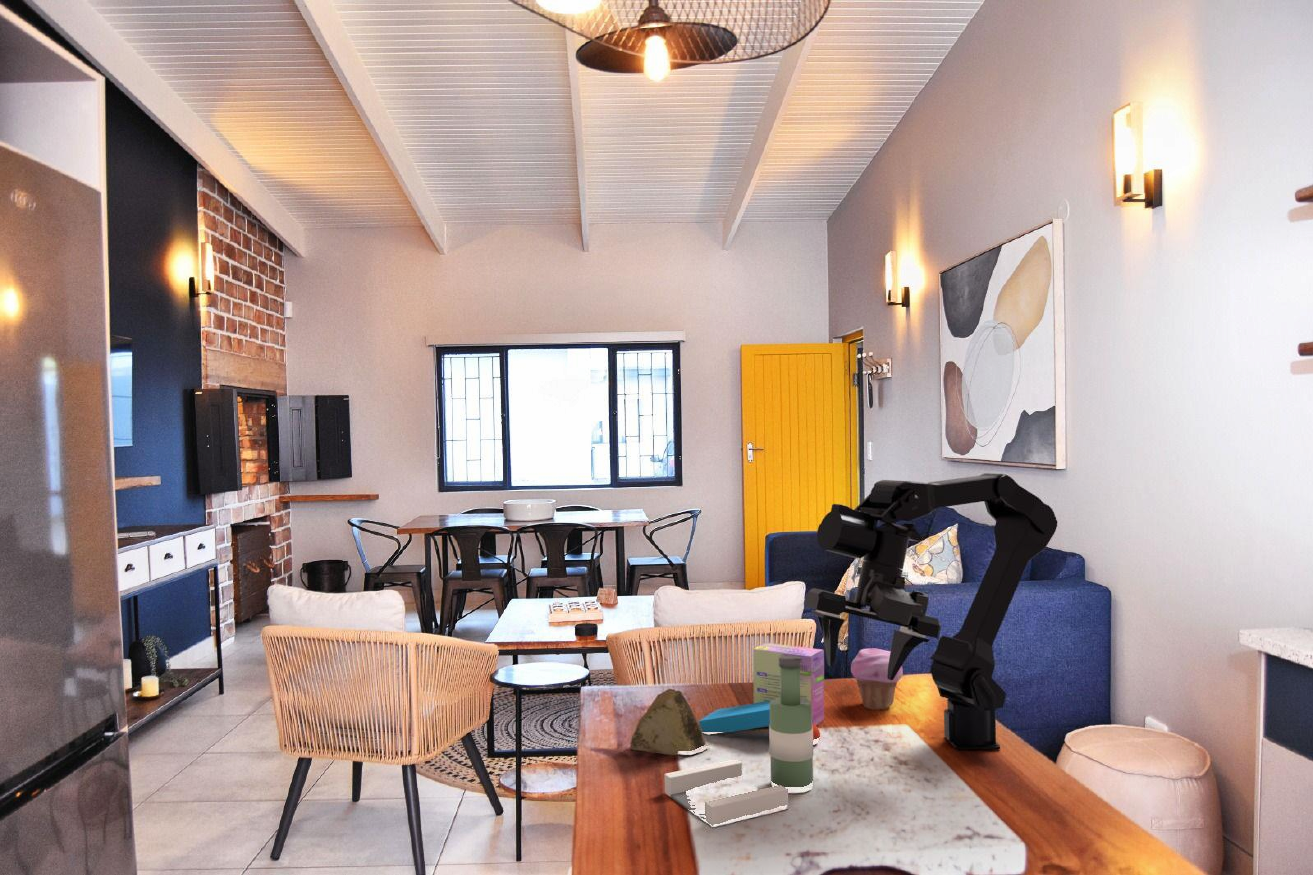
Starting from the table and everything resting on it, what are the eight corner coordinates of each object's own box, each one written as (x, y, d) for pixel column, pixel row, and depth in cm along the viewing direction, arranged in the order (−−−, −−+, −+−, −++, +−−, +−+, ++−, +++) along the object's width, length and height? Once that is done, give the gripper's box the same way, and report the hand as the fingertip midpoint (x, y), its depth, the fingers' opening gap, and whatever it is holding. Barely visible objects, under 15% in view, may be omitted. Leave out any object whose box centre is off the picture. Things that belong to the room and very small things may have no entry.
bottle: (810, 777, 121) (808, 652, 121) (817, 793, 115) (814, 663, 115) (768, 777, 121) (766, 653, 121) (772, 794, 115) (770, 663, 115)
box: (825, 720, 145) (824, 648, 145) (812, 730, 141) (810, 655, 141) (768, 710, 151) (766, 641, 151) (753, 720, 146) (752, 648, 146)
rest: (735, 777, 121) (735, 759, 121) (788, 809, 110) (787, 789, 110) (664, 793, 116) (664, 773, 116) (712, 828, 105) (712, 807, 105)
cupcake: (849, 698, 157) (848, 642, 157) (899, 699, 156) (898, 643, 156) (853, 713, 148) (852, 654, 149) (906, 715, 147) (905, 655, 147)
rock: (610, 738, 131) (657, 743, 124) (630, 684, 136) (677, 687, 129) (656, 767, 137) (703, 774, 130) (673, 714, 141) (721, 718, 134)
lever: (710, 765, 139) (814, 751, 130) (698, 721, 140) (801, 704, 131) (728, 752, 145) (829, 737, 136) (717, 709, 146) (817, 692, 137)
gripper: (843, 553, 118) (819, 669, 116) (970, 585, 121) (947, 698, 119) (815, 549, 129) (792, 655, 127) (931, 578, 132) (910, 682, 130)
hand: (860, 673), depth 125 cm, fingers open, 9 cm apart
